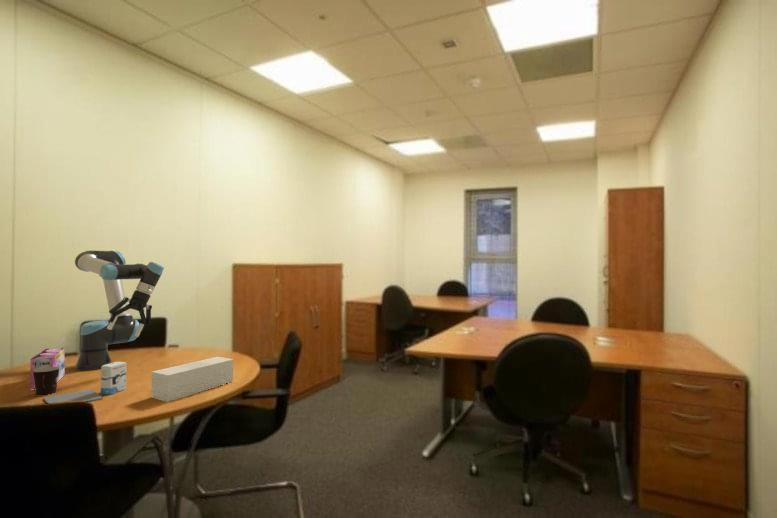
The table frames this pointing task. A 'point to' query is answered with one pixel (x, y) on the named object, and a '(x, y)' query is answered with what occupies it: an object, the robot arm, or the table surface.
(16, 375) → the table surface
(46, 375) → the coffee mug
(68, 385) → the table surface
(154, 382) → the long white block
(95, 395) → the felt pad
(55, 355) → the gum box
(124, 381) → the ink box
